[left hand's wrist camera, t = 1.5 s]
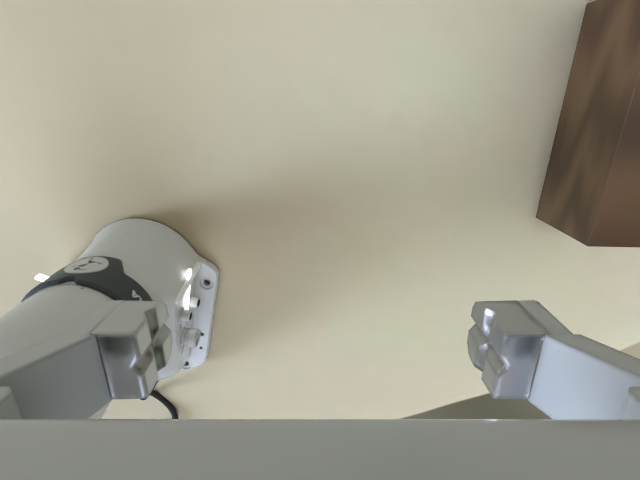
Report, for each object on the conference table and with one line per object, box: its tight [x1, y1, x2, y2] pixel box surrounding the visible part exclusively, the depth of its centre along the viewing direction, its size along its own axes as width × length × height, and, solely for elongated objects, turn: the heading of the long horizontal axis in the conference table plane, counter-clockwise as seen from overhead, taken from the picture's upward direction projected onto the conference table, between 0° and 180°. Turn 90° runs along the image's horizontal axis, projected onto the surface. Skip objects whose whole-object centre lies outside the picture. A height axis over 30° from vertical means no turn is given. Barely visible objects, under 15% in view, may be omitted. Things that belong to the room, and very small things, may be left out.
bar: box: [536, 0, 640, 247], centre depth 38 cm, size 23×6×10 cm, turn 179°
